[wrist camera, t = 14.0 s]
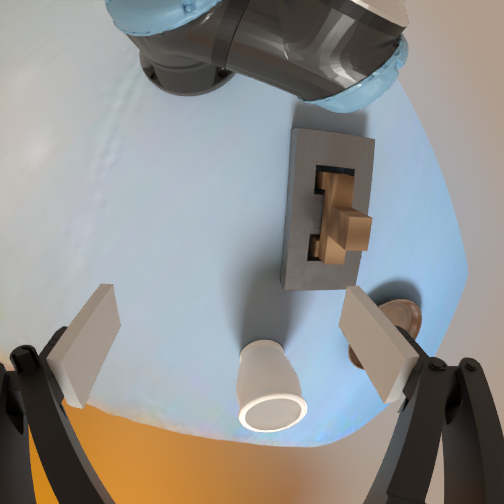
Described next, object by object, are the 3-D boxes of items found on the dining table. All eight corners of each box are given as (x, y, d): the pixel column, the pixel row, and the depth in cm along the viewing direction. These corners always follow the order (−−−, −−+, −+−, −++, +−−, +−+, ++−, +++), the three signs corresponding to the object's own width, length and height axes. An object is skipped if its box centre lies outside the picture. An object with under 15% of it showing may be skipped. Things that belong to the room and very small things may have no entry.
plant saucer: (423, 326, 55) (430, 333, 52) (363, 373, 58) (368, 382, 55) (399, 275, 50) (407, 281, 47) (327, 331, 52) (332, 341, 49)
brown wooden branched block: (314, 169, 41) (349, 179, 29) (338, 172, 42) (380, 182, 30) (307, 247, 46) (335, 283, 33) (330, 248, 46) (364, 282, 34)
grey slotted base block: (291, 129, 39) (297, 127, 36) (364, 139, 40) (374, 139, 37) (280, 280, 47) (284, 290, 44) (346, 279, 48) (354, 288, 45)
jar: (278, 325, 50) (296, 385, 36) (295, 362, 54) (314, 419, 40) (224, 346, 51) (226, 408, 37) (246, 380, 54) (254, 439, 40)
